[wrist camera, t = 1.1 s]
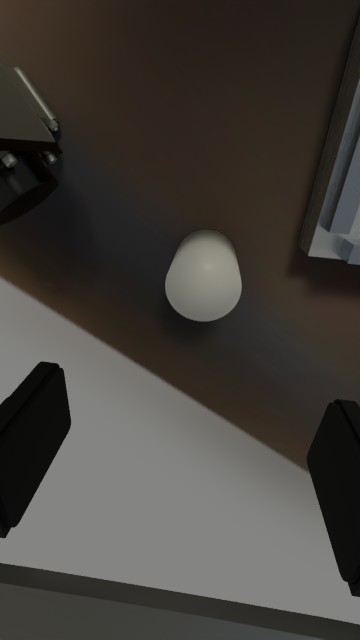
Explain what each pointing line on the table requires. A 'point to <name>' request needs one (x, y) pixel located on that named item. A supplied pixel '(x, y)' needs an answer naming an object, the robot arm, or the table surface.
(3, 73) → the pneumatic valve
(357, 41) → the grey fixture tray
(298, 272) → the table surface
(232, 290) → the white rounded cylinder
